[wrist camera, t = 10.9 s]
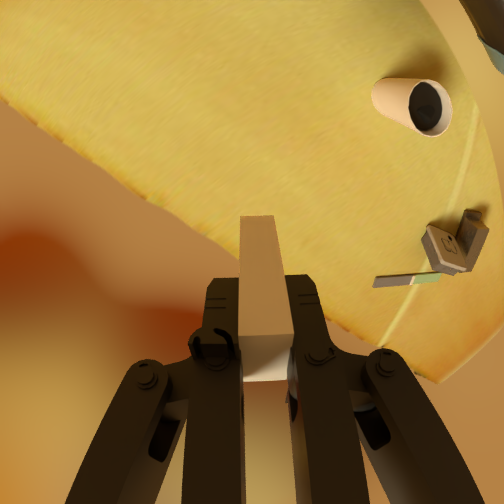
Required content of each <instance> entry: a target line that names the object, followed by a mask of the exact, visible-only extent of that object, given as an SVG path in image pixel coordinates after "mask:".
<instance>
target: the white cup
mask: <svg viewBox="0 0 504 504" xmlns="http://www.w3.org/2000/svg"><path fill="white" fill-rule="evenodd" d="M371 98H372V102H373V105H374V107H375V108H376V109H377V111H378V112H379V113H381V114H382V115H384V116H386V117H388V118H390V119H392V120H394V121H396V122H398V123H400V124H402V125H404V126H406V127H408V128H410V129H412V130H414V131H416V132H418V133H419V134H421V135H423V136H427V137H431V138H432V137H436V136H440V135H441V134H442V133H443V132H445V131H446V130H447V128H448V126H449V124H450V122H451V118H452V111H453V110H452V104H451V99H450V97H449V95H448V93H447V91H446V90H445V89H444V88H443V87H442V86H441V85H440V84H439V83H438V82H435V81H432V80H430V79H413V78H384V79H380V80H379V81H378V82H376V83H375V85H374V87H373V89H372V96H371Z"/></svg>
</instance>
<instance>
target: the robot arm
mask: <svg viewBox="0 0 504 504" xmlns="http://www.w3.org/2000/svg"><path fill="white" fill-rule="evenodd" d="M459 1H460V3H461V4H462V6H463V8H464V9H465V11H466V13H467V15H468V16H469V18H470V20H471V22H472V24H473V26H474V28H475V30H476V33H477V36H478V38H479V40H480V41H481V42H482V44H483V45H484V47H485V49H486V51H487V53H488V55H489V57H490V60H491V62H492V63H493V65H494V66H495V67H496V69H498V71H500V72H501V73H502V74H504V0H459ZM204 308H205V309H204V314H203V322H202V327H201V328H199V329H197V330H196V331H195V332H194V333H193V334H192V335H191V336H190V339H189V341H188V346H189V349H190V352H191V355H192V356H190V357H189V358H187V359H186V360H183V361H180V362H177V363H172V364H168V365H164V366H163V365H162V364H161V363H160V362H158V361H156V360H150V359H145V360H141V361H138V362H137V363H135V364H133V365H132V366H131V367H130V368H129V370H128V371H127V373H126V375H125V377H124V378H123V380H122V382H121V384H120V386H119V388H118V390H117V392H116V394H115V396H114V397H113V400H112V401H111V404H110V406H109V407H108V409H107V411H106V413H105V415H104V418H103V419H102V421H101V423H100V425H99V428H98V430H97V432H96V434H95V436H94V438H93V440H92V442H91V444H90V446H89V449H88V451H87V453H86V455H85V457H84V460H83V462H82V464H81V466H80V469H79V471H78V473H77V475H76V478H75V480H74V482H73V485H72V487H71V490H70V492H69V494H68V497H67V499H66V502H65V504H155V501H156V498H157V496H158V493H159V491H160V488H161V485H162V483H163V480H164V477H165V475H166V472H167V469H168V467H169V464H170V461H171V458H172V456H173V453H174V450H175V447H176V445H177V442H178V440H179V437H180V434H181V432H182V429H183V427H184V424H185V421H186V419H187V425H186V437H185V449H184V465H183V479H182V501H181V504H246V482H245V481H246V480H245V437H244V436H245V431H244V393H243V381H271V380H286V378H288V391H287V396H286V403H288V408H289V418H290V429H291V440H292V451H293V463H294V475H295V488H296V501H297V504H370V501H369V493H368V487H367V480H366V474H365V468H364V462H363V456H362V451H361V446H360V441H361V443H362V445H363V447H364V449H365V451H366V453H367V456H368V458H369V460H370V462H371V464H372V466H373V468H374V470H375V472H376V474H377V476H378V478H379V481H380V483H381V485H382V487H383V489H384V491H385V492H386V495H387V497H388V499H389V501H390V504H485V503H484V501H483V498H482V496H481V494H480V492H479V490H478V488H477V485H476V483H475V481H474V480H473V477H472V475H471V473H470V471H469V469H468V467H467V465H466V463H465V461H464V459H463V457H462V456H461V454H460V452H459V450H458V448H457V446H456V445H455V443H454V441H453V439H452V437H451V435H450V434H449V432H448V430H447V429H446V427H445V425H444V423H443V422H442V420H441V418H440V416H439V415H438V413H437V411H436V410H435V408H434V406H433V405H432V403H431V402H430V400H429V398H428V397H427V395H426V394H425V392H424V391H423V389H422V387H421V386H420V384H419V382H418V381H417V379H416V378H415V376H414V375H413V373H412V372H411V370H410V368H409V367H408V365H407V364H406V362H405V361H404V359H403V358H402V357H401V356H400V355H399V354H398V353H397V352H395V351H393V350H391V349H385V348H382V349H377V350H375V351H373V352H372V353H370V355H369V356H363V355H356V354H351V353H347V352H344V351H342V350H340V349H339V348H338V347H337V346H335V345H334V343H333V342H332V341H331V339H330V336H329V333H328V329H327V326H326V322H325V318H324V314H323V310H322V307H321V304H320V299H319V296H318V292H317V289H316V285H315V283H314V282H313V281H312V279H311V278H310V277H309V276H308V275H307V274H304V275H284V270H283V264H282V259H281V253H280V248H279V242H278V237H277V231H276V226H275V221H274V216H240V256H239V278H214V279H213V280H212V282H211V283H210V285H209V286H208V287H207V292H206V301H205V307H204ZM359 439H360V440H359Z"/></svg>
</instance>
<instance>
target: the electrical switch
mask: <svg viewBox="0 0 504 504" xmlns="http://www.w3.org/2000/svg"><path fill="white" fill-rule="evenodd" d="M426 229H427V232H426V234H425V235H424V237H423V238H422V239H421V241H422V243H423V246H424V248H425V251H426V254H427V256H428V259H429V262H430V265H431V267H432V269H433V270H434V271H438V272H441V273H445V274H449V275H452V276H454V275H455V274H456V273H457V272H459V271H460V270H462V271H465V270H466V269H467V265H466V263H465V260H464V258H463V256H462V253H461V251H460V249H459V247H458V245H457V242H456V240H455V238H454V236H453V235H452V234H450V233H448V232H445V231H443V230H441V229H438V228H436V227H434V226H431V225H428V226H427V227H426ZM450 269H451V270H450Z"/></svg>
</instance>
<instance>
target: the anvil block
mask: <svg viewBox="0 0 504 504" xmlns="http://www.w3.org/2000/svg"><path fill="white" fill-rule="evenodd" d="M480 217H481V213H480V212H477V211H466V210H464V214H463V217H462V220H461V223H460V225H459V228H458V231H457V234H456V237H455V240H456V242H457V245H458V247H459V249H460V251H461V253H462V256H463V258H464V260H465V263H466V265H467V269H466V270H465V271H462V270H460V271H459V273H462V272H471V271H472V269H473V267H474V265H475V263H476V260H477V258H478V256H479V254H480V251H481V249H482V247H483V244H484V242H485V240H486V237H487V235H488V232H489V228H488V227H487V226H485V225H484V224H483V223H482V222H481V221H480Z"/></svg>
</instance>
